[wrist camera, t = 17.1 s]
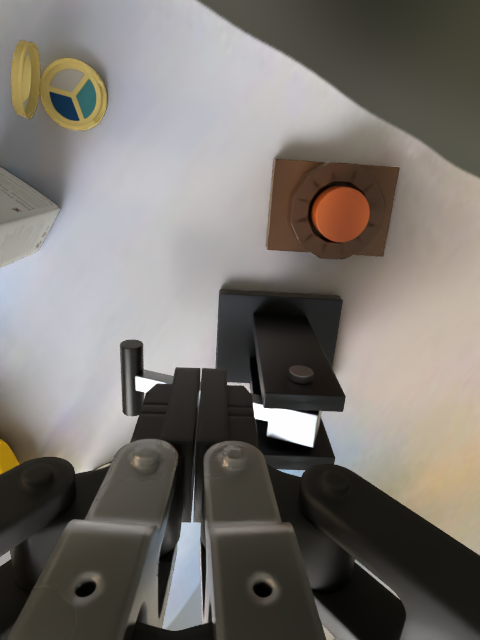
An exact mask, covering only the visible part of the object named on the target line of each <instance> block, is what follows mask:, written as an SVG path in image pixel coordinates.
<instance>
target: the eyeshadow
mask: <svg viewBox="0 0 480 640" xmlns="http://www.w3.org/2000/svg"><path fill="white" fill-rule="evenodd" d="M40 78H41V70H40V57H39V52H38V48H37V46H36V44H35V43H34V42H26V41H23V40H21V41H19V43H18V44H17V46H16V48H15V52H14V55H13V60H12V68H11V96H12V103H13V107H14V110H15V112H16V113H17V114H18V115H20V116H24V117H25V118H27V119H31V118H32V117H33V115H34V113H35V111H36V108H37V104H38V99H39V92H40V97H41V101H42V104H43V106H44V108H45V110H46V112H47V113H48V115H49V116H50V117H51V118H52V119H53V120H54V121H55V122H56V123H58V124H59V125H61V126H62V127H65V128H67V129H71V130H77V131H83V130H88V129H91V128H93V127H95V126H96V125H97V124H99V122H100V121H101V120H102V118H103V116H104V114H105V112H106V108H107V92H106V88H105V85H104V83H103V81H102V79H101V77H100V76H99V75H98V74H97V72H96V71H95V70H94V69H93V68H91V67H90V66H89V65H87V64H85V63H84V62H82V61H80V60H77V59H73V58H63V59H59V60H56V61H54V62H53V63H51V64H50V65H49V66H48V67H47V68H46V70H45V71H44V73H43V75H42V78H41V81H40Z"/></svg>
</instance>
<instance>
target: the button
mask: <svg viewBox="0 0 480 640" xmlns="http://www.w3.org/2000/svg"><path fill="white" fill-rule="evenodd" d="M369 215H370V209H369V204H368V202H367V199H366V198H365V196H364V195H363V194H362V193H361V192H359V191H358V190H356V189H354V188H350V187H346V186H333V187H330V188H327V189H326V190H324V191H323V192H321V193H320V194H319V195H318V197H317V198H316V200H315V201H314V204H313V206H312V212H311V216H312V222H313V224H314V226H315V228H316V229H317V230H318V232H320V233H321V234H322V235H323V236H325V237H326V238H327V239H329V240H331V241H334V242H346V241H350V240H352V239H354V238H356V237H357V236H359V235H360V234H361V233H362V231H363V230H364V229H365V227H366V225H367V223H368V220H369Z"/></svg>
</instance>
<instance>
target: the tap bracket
mask: <svg viewBox="0 0 480 640" xmlns="http://www.w3.org/2000/svg"><path fill="white" fill-rule="evenodd" d="M342 302H343V300H342V299H341V298H340V296H331V295H313V294H295V293H277V292H258V291H240V290H222V289H221V290H220V291H219V309H218V330H217V351H216V369H226V372H227V382H238V383H250V389H251V393H252V394H256V395H261V396H262V403H263V408H268V409H291V410H314V411H337V412H343V409H344V403H345V394H344V392H343V390H342V388H341V386H340V384H339V382H338V380H337V378H336V376H335V374H334V372H333V370H332V366H333V360H334V353H335V347H336V341H337V334H338V328H339V321H340V315H341V309H342ZM255 423H256V430H257V438H258V445H259V450H260V451H261V452H262V454H263V455H264V458H265V461H266V463H267V464H269V465H270V466H271V467H273V468H275V469H287V470H307V469H308V468H310V467H312V466H314V465H318V464H334V461H335V456H334V453H333V450H332V447H331V444H330V442H329V439H328V436H327V433H326V430H325V427H324V425H323V422H322V419H321V418H320V425H319V429H318V433H317V437H316V441H315V445H314V447H313V448H312V447H308V446H304V445H300V444H296V443H292V442H288V441H283V440H279V439H275V438H271V437H267V426H268V422H267V421H263V420H259V419H255Z"/></svg>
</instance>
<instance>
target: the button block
mask: <svg viewBox="0 0 480 640" xmlns="http://www.w3.org/2000/svg"><path fill="white" fill-rule="evenodd" d="M398 174H399V167H388V166H373V165H359V164H349V163H335V162H315V161H300V160H286V159H273V169H272V180H271V192H270V204H269V215H268V227H267V239H266V247H267V249H268V250H280V251H297V252H311V253H313V254H314V255H316V256H317V257H319V258H326V259H346V258H348V257H350V256H352V255H365V256H383V255H384V249H385V244H386V238H387V233H388V228H389V222H390V217H391V211H392V206H393V201H394V195H395V190H396V184H397V179H398ZM333 186H346V187H350V188H354V189H356V190H358V191H359V192H361V193H362V194H363V195H364V196H365V198H366V199H367V202H368V204H369V209H370V215H369V220H368V223H367V225H366V227H365V229H364V230H363V231H362V233H361V234H360V235H359V236H357V237H356V238H354V239H352V240H350V241H346V242H334V241H331V240H329V239H327V238H326V237H325V236H323V235H322V234H321V233H320V232H318V230H317V229H316V228H315V226H314V224H313V222H312V216H311V212H312V206H313V204H314V201H315V200H316V198H317V197H318V195H319V194H320V193H321V192H323V191H324V190H326V189H327V188H330V187H333Z"/></svg>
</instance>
